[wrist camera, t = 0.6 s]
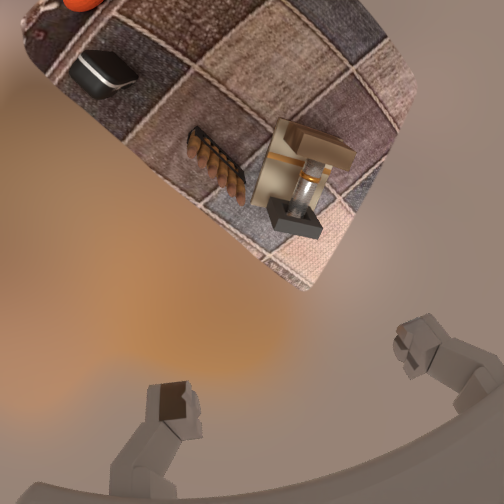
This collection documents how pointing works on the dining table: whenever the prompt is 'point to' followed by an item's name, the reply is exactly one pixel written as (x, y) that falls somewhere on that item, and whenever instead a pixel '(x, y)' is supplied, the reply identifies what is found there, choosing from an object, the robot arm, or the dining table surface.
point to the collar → (293, 220)
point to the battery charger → (101, 73)
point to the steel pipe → (305, 188)
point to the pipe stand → (297, 161)
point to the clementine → (81, 4)
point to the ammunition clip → (217, 163)
